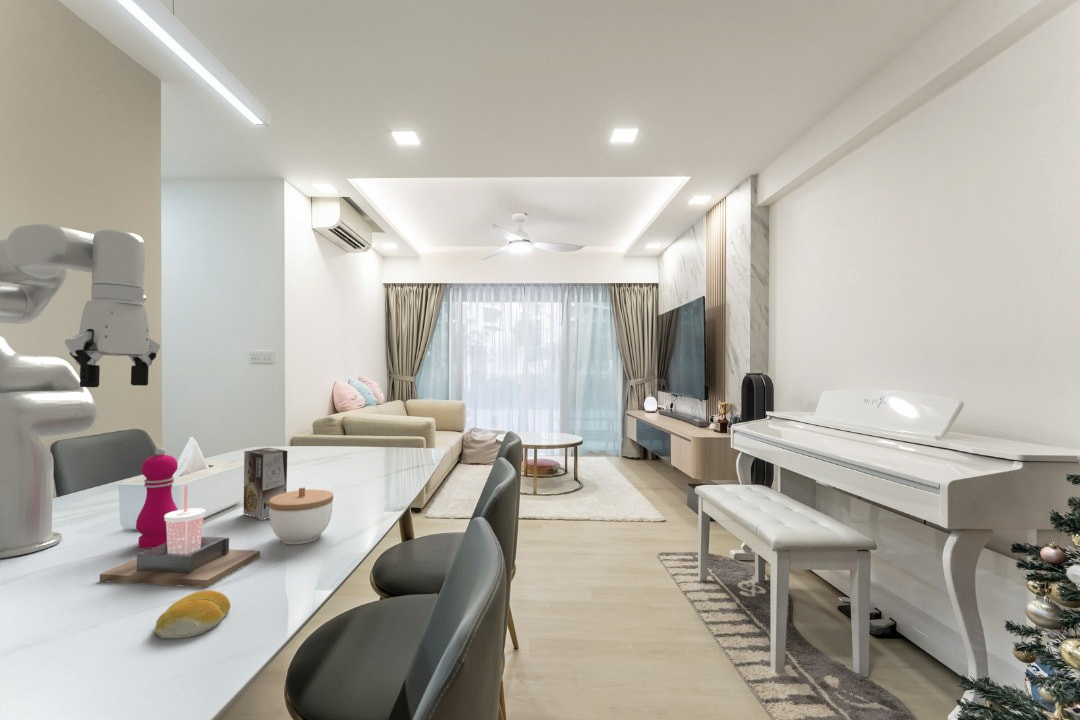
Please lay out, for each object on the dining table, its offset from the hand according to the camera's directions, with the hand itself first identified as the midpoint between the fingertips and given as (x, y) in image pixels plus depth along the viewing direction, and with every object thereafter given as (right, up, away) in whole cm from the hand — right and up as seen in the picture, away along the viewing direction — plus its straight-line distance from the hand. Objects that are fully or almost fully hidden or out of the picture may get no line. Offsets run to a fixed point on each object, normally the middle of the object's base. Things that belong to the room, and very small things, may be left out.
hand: (115, 386), depth 91 cm
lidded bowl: (+29, -34, +13) cm, 46 cm away
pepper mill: (+1, -34, +9) cm, 35 cm away
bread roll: (+31, -34, -22) cm, 50 cm away
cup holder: (+16, -33, -3) cm, 37 cm away
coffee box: (+11, -34, +29) cm, 47 cm away
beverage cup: (+15, -32, -3) cm, 36 cm away
